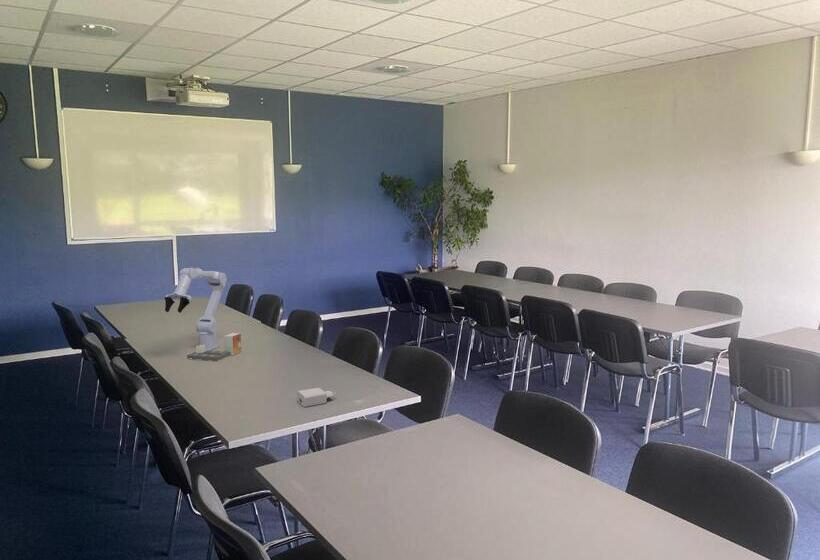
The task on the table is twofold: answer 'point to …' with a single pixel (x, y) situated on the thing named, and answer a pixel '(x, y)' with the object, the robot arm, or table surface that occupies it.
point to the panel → (209, 355)
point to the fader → (200, 348)
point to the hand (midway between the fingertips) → (172, 311)
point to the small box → (232, 343)
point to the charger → (313, 396)
